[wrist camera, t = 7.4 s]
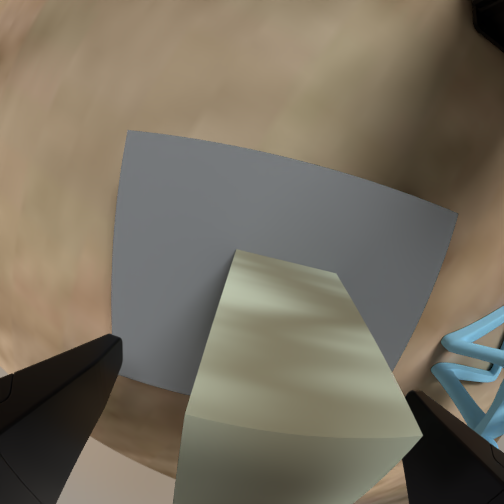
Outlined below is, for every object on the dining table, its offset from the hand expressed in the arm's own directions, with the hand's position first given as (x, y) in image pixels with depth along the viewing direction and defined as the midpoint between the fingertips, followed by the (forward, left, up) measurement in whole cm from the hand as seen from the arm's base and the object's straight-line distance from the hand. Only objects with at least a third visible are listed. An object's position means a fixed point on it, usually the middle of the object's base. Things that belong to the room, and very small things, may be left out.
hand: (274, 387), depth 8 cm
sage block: (0, 0, -4) cm, 5 cm away
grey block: (0, 0, -8) cm, 8 cm away
